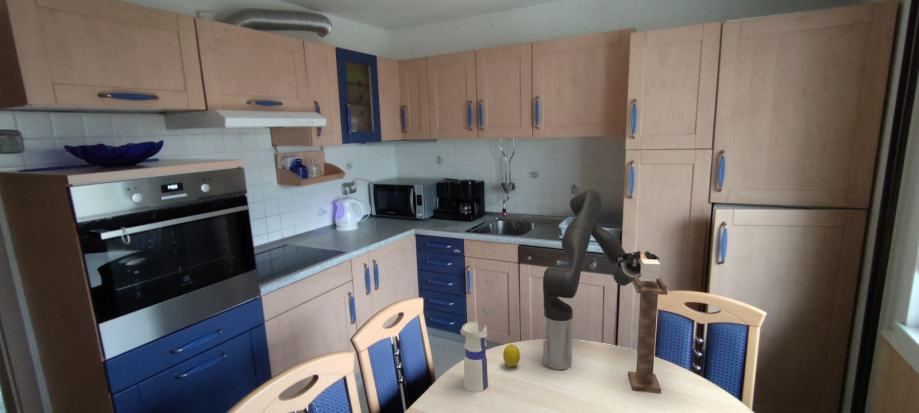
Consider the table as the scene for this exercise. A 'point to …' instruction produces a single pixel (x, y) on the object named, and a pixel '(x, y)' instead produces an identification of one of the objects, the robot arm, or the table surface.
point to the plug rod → (649, 267)
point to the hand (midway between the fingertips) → (643, 254)
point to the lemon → (511, 355)
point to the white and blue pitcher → (475, 357)
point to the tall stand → (646, 335)
